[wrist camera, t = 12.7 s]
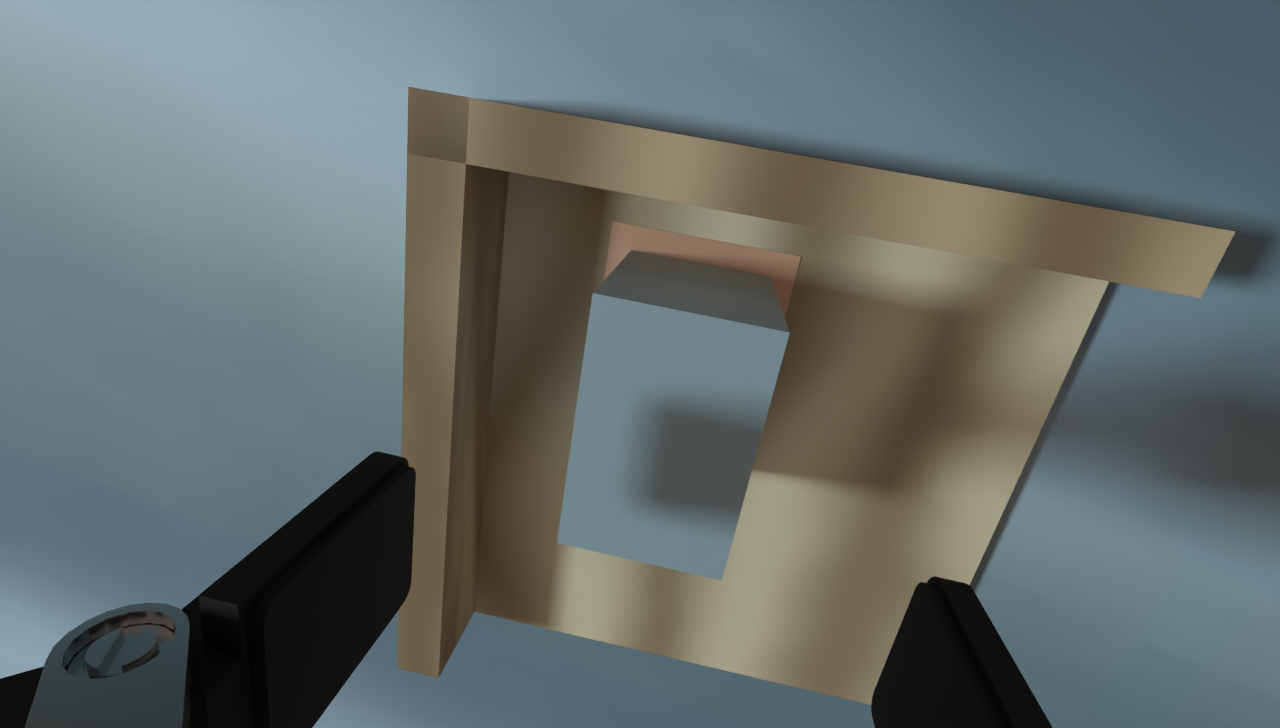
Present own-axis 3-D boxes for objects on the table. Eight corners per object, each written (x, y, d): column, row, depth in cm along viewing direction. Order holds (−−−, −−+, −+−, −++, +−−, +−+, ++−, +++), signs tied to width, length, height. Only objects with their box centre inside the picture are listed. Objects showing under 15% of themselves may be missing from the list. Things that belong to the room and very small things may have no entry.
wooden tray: (1126, 213, 17) (1235, 231, 14) (906, 701, 25) (938, 800, 21) (471, 98, 19) (408, 87, 15) (444, 593, 26) (397, 668, 22)
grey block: (722, 466, 21) (721, 580, 16) (600, 440, 22) (556, 542, 16) (770, 277, 19) (789, 332, 13) (631, 249, 19) (592, 293, 13)
